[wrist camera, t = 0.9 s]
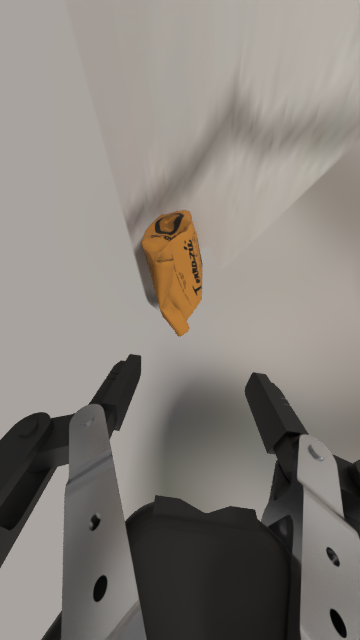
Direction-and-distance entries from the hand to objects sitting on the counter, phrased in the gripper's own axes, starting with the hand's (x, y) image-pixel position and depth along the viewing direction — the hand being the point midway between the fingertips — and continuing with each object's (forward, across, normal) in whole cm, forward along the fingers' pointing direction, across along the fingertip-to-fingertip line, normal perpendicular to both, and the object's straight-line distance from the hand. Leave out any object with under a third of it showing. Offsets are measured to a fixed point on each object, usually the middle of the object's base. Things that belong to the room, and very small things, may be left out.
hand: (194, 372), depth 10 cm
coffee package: (+28, +5, -8) cm, 30 cm away
